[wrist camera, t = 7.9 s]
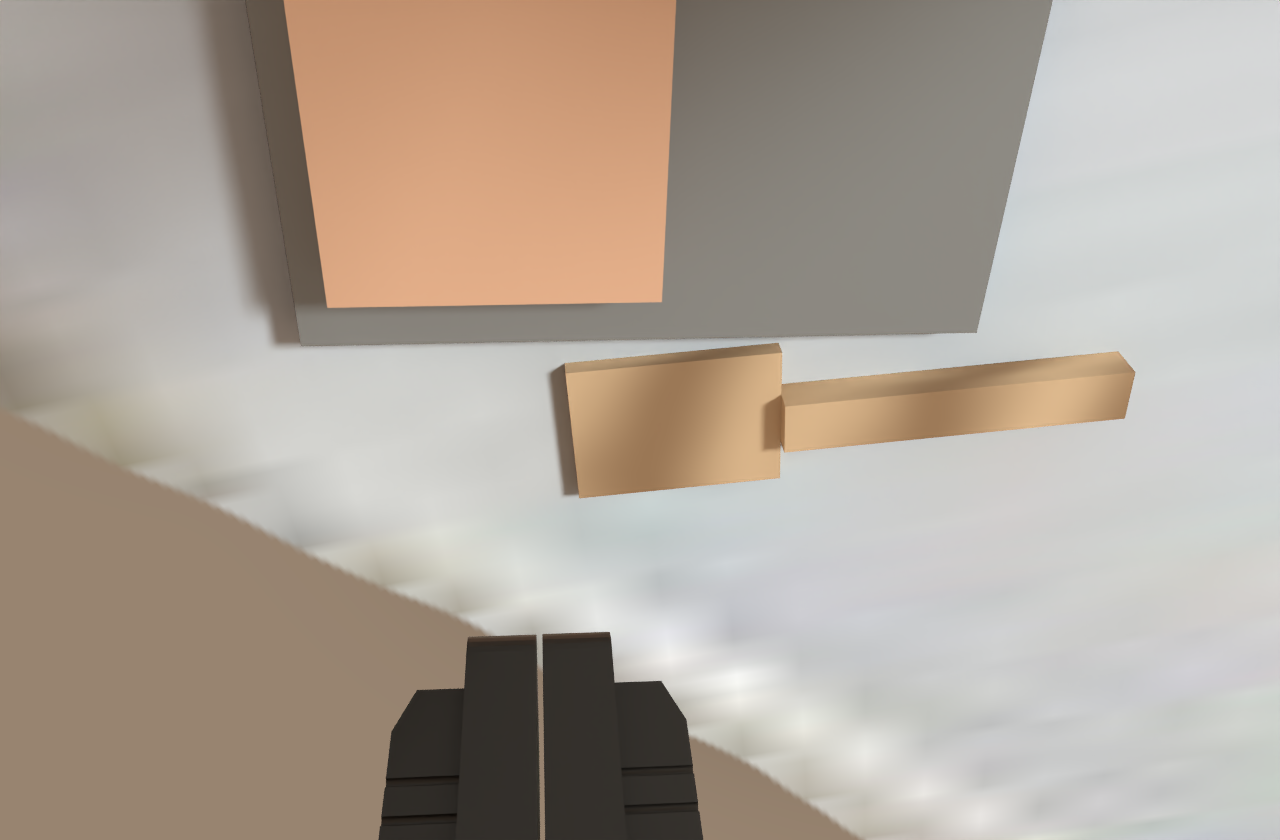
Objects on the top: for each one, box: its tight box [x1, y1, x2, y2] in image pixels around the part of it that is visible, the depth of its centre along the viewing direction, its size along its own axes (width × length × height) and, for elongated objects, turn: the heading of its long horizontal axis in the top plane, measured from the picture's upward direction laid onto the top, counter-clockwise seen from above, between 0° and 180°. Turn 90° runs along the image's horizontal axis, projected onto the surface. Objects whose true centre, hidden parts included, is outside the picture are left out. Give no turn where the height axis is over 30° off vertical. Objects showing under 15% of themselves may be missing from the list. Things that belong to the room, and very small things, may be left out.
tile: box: [284, 0, 676, 308], centre depth 26 cm, size 8×2×8 cm
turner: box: [565, 343, 1135, 498], centre depth 33 cm, size 16×4×1 cm, turn 93°
